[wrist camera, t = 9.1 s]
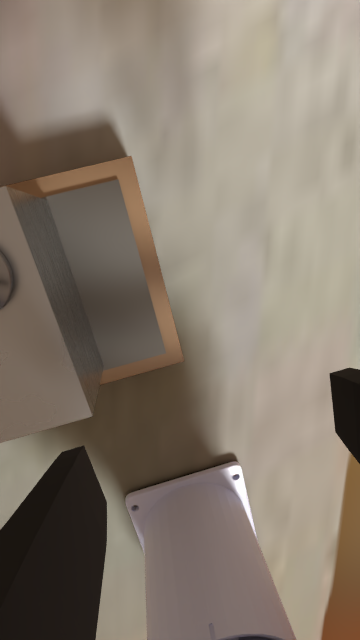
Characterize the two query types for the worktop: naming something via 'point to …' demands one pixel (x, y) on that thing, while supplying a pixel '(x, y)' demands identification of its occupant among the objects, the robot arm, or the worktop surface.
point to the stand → (113, 264)
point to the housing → (41, 325)
